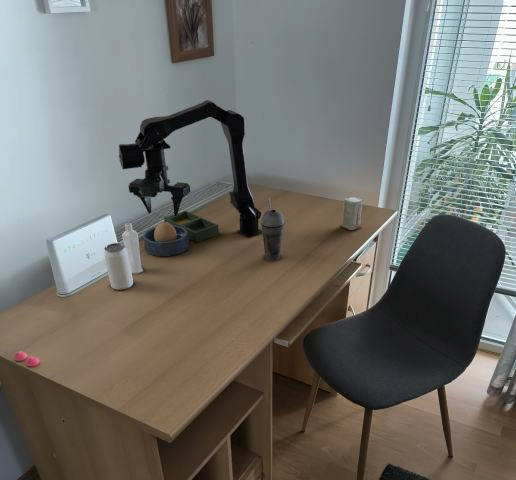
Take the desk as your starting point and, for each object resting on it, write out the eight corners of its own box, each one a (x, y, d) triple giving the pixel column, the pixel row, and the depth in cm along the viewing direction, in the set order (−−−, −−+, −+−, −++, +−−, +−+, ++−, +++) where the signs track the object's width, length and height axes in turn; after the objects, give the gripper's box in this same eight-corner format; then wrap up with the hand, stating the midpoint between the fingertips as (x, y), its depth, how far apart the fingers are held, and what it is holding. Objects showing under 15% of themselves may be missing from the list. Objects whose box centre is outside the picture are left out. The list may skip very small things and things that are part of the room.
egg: (168, 253, 162) (165, 228, 157) (151, 248, 165) (147, 224, 160) (182, 245, 167) (179, 220, 162) (165, 240, 170) (162, 216, 165)
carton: (218, 234, 174) (218, 224, 172) (196, 242, 169) (195, 232, 167) (186, 219, 186) (186, 210, 184) (165, 226, 181) (163, 217, 178)
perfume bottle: (147, 268, 154) (139, 222, 145) (138, 274, 151) (130, 228, 142) (135, 266, 156) (126, 220, 147) (126, 272, 152) (117, 225, 144)
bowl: (197, 247, 166) (195, 233, 163) (161, 261, 158) (159, 246, 155) (172, 235, 174) (170, 221, 171) (137, 247, 166) (135, 233, 164)
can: (137, 281, 147) (130, 244, 140) (126, 291, 142) (118, 253, 135) (118, 278, 149) (111, 241, 142) (106, 288, 144) (98, 250, 137)
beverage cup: (284, 262, 156) (285, 200, 144) (261, 262, 156) (260, 200, 144) (283, 252, 162) (284, 191, 150) (261, 252, 162) (260, 192, 150)
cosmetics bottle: (360, 227, 177) (363, 200, 171) (351, 230, 175) (353, 202, 169) (350, 223, 180) (352, 196, 175) (341, 226, 179) (343, 198, 173)
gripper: (115, 170, 146) (124, 220, 155) (172, 175, 142) (178, 227, 151) (133, 159, 155) (141, 208, 164) (188, 164, 150) (193, 213, 159)
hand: (162, 214), depth 159 cm, fingers open, 9 cm apart
